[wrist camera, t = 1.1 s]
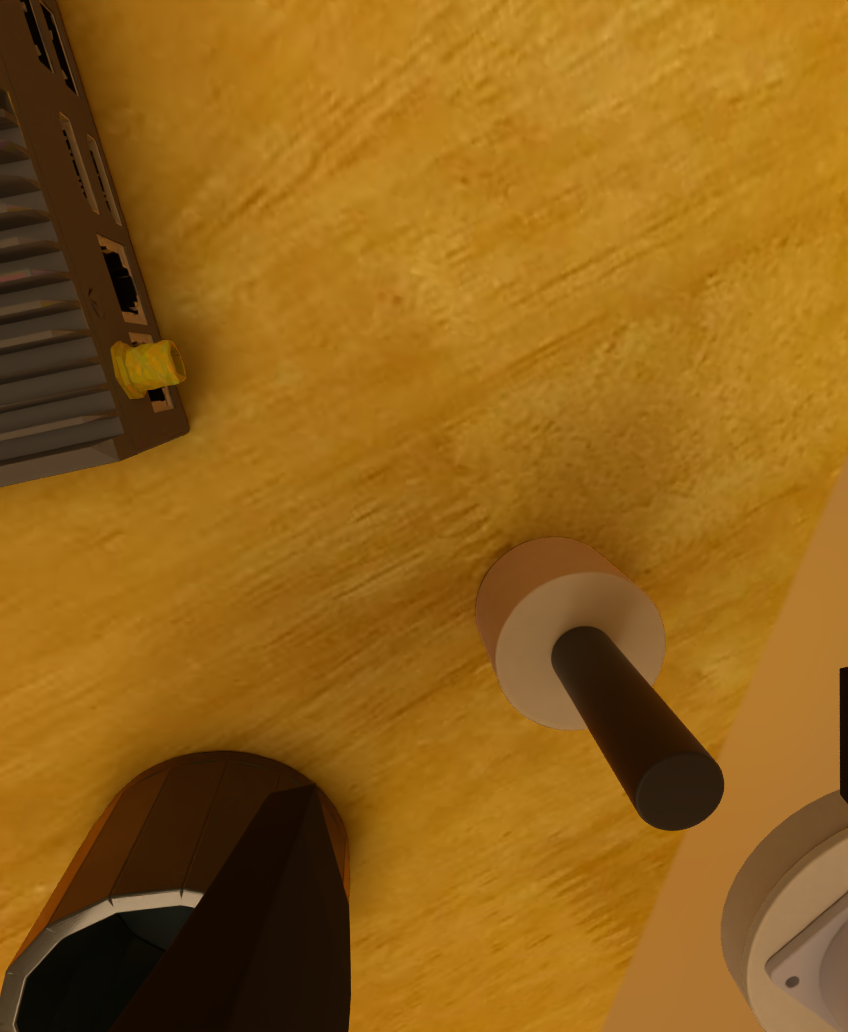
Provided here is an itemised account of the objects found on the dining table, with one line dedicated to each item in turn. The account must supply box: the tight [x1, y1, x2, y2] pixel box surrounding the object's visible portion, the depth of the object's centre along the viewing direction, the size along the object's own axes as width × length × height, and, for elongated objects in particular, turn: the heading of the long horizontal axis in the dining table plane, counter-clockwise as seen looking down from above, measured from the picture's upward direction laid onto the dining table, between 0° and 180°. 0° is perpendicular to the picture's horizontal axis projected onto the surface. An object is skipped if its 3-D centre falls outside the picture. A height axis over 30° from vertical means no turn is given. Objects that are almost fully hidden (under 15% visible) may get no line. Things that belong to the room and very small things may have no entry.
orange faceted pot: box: [0, 752, 350, 1032], centre depth 17 cm, size 8×8×5 cm
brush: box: [475, 537, 724, 831], centre depth 14 cm, size 4×4×8 cm
